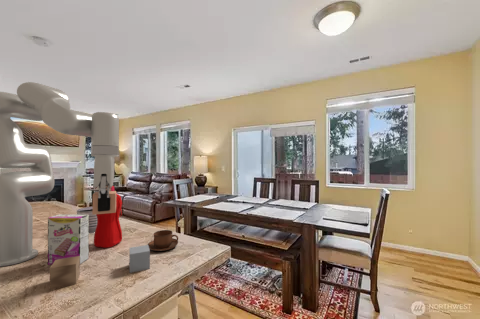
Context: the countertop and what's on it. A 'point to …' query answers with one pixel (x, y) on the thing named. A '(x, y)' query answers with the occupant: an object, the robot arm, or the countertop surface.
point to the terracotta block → (112, 203)
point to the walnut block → (64, 272)
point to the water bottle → (109, 227)
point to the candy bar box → (68, 237)
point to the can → (91, 218)
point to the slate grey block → (139, 258)
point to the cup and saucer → (163, 241)
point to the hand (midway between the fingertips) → (104, 208)
